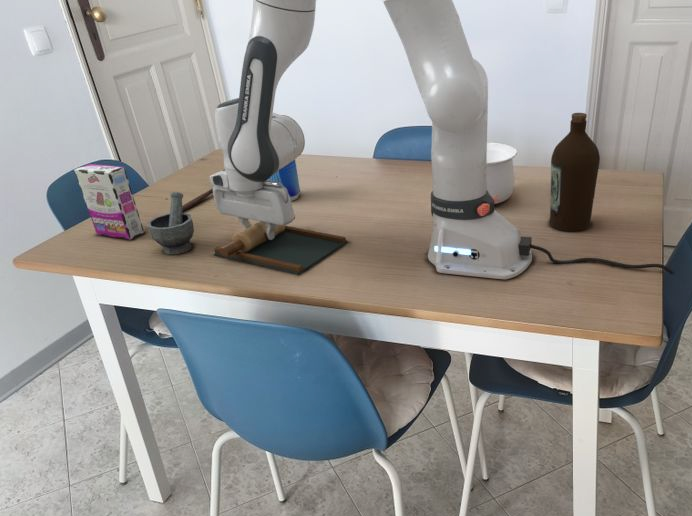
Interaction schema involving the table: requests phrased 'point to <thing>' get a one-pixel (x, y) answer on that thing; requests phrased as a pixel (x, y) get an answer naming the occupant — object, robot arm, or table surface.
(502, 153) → the pot
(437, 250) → the robot arm
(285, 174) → the beer can
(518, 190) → the table surface
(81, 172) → the candy bar box
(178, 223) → the mortar and pestle
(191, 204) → the spoon
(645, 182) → the table surface
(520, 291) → the table surface
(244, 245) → the rolling pin
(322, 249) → the chalkboard
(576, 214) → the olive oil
